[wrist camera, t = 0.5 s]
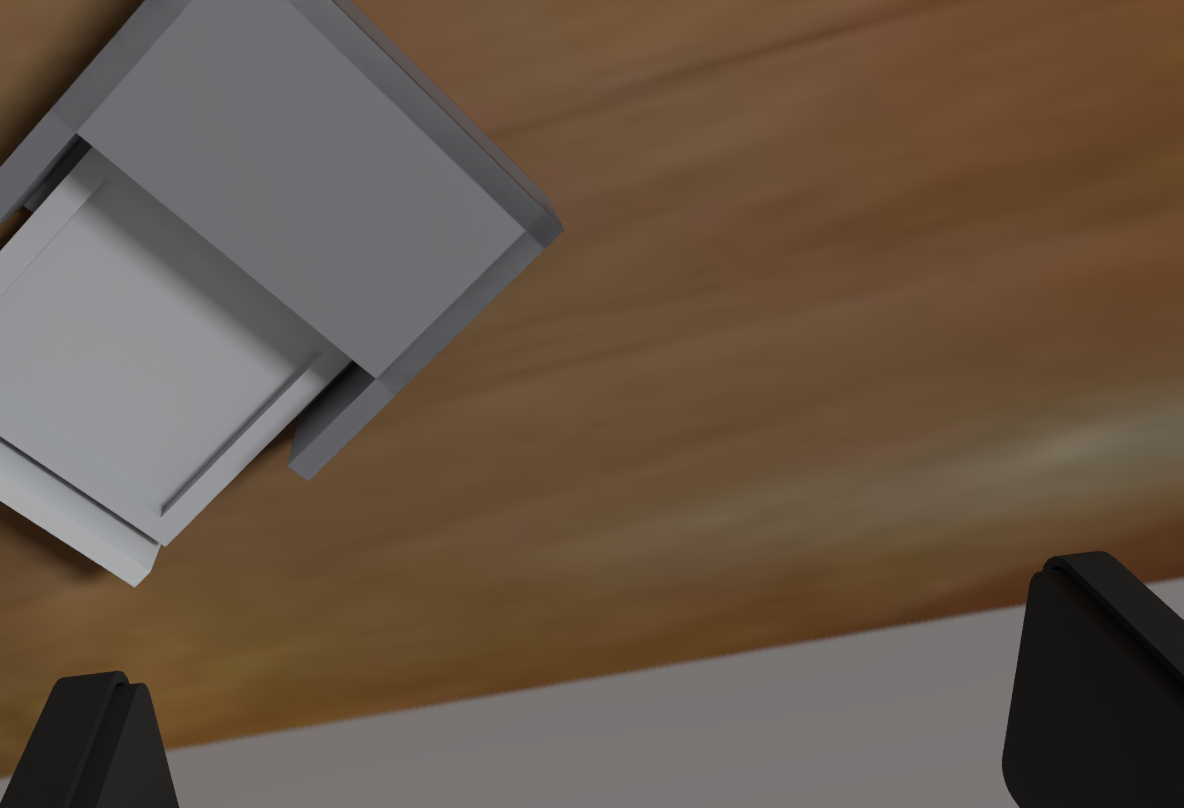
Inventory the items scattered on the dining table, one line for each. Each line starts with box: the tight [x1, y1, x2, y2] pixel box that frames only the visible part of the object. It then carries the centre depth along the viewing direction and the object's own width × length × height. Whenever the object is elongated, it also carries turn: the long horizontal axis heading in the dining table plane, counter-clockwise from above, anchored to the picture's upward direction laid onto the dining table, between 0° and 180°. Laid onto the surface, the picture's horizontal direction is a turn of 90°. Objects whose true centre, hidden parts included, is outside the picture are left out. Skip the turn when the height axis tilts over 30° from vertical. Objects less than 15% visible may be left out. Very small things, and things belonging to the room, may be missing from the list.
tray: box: [0, 147, 352, 587], centre depth 42 cm, size 12×14×3 cm
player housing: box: [0, 0, 564, 481], centre depth 40 cm, size 15×14×5 cm
